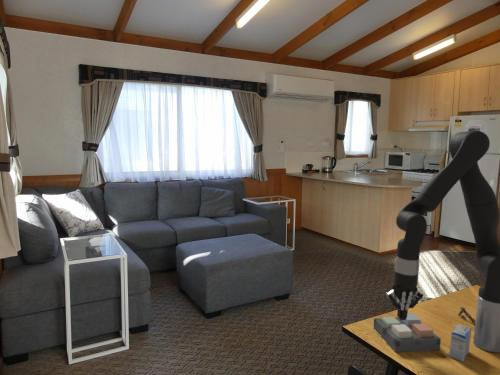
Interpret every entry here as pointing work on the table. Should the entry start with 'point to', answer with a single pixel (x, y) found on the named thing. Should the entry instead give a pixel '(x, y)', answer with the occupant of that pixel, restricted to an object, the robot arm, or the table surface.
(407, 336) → the cream key
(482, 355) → the table surface
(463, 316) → the wooden post with brackets
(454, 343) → the medicine box
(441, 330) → the table surface
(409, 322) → the blue key
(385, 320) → the sage key
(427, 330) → the terracotta key
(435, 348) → the keypad
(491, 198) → the robot arm
